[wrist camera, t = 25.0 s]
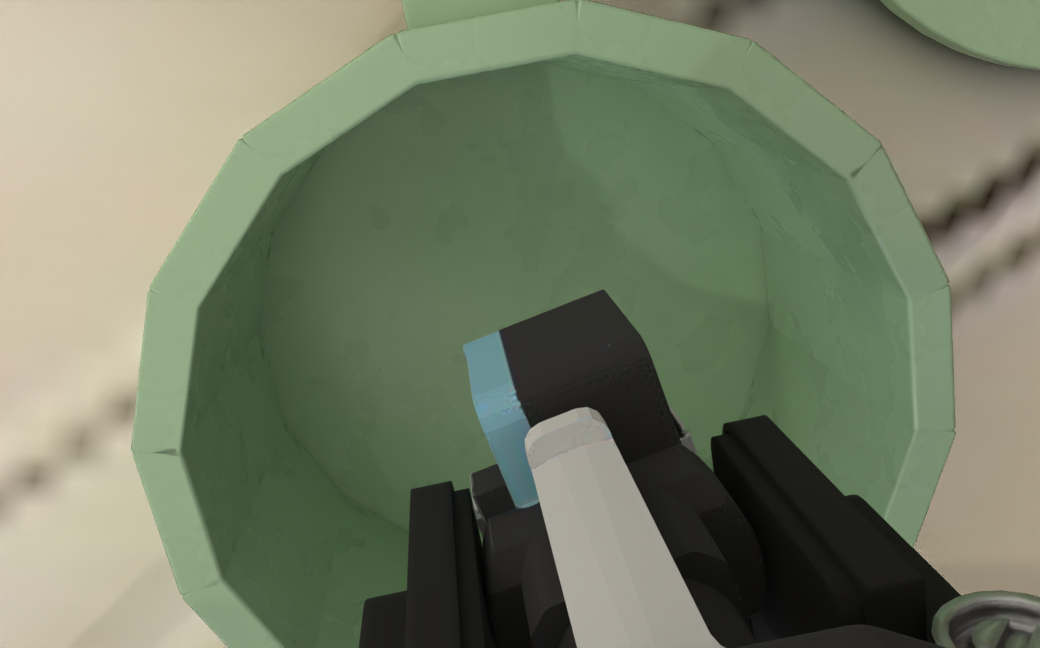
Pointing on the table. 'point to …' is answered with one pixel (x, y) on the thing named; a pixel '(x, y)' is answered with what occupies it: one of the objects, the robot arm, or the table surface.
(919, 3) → the green pot lid
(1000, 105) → the table surface
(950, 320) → the green cooking pot
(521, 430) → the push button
